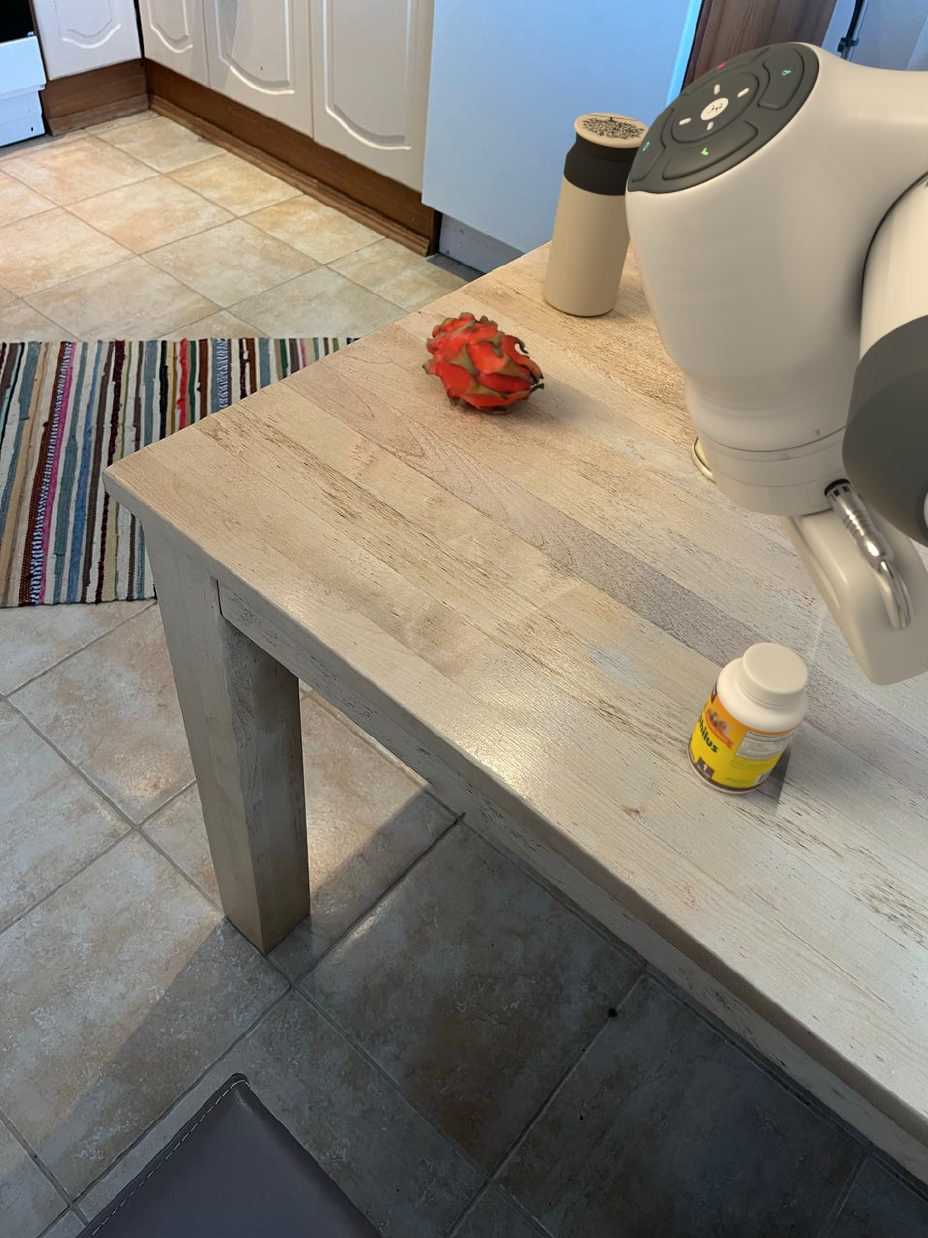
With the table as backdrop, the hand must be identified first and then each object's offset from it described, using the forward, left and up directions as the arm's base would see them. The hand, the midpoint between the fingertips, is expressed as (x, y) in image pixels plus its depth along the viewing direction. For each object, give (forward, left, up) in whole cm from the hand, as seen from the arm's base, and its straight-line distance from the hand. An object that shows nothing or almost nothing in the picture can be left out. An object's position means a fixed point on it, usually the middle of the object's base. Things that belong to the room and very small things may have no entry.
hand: (839, 584), depth 54 cm
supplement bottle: (+1, +3, -15) cm, 16 cm away
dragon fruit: (+32, -27, -15) cm, 45 cm away
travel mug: (+30, -50, -15) cm, 60 cm away
